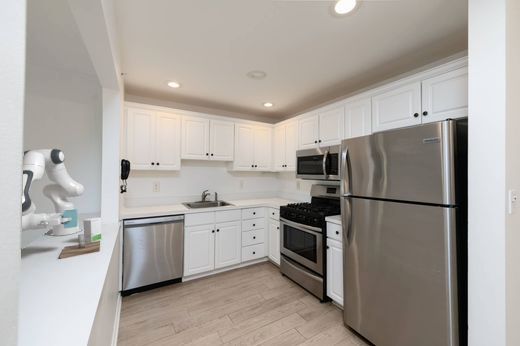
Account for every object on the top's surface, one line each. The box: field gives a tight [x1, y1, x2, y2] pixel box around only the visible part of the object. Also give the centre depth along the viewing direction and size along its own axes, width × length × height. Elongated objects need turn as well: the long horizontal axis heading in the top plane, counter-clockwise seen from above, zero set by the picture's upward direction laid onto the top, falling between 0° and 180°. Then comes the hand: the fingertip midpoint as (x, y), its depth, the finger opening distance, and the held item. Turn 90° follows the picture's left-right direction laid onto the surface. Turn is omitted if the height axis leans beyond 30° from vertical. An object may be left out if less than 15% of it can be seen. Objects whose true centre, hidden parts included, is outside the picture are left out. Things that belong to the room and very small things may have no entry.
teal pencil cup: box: [63, 208, 79, 228], centre depth 137 cm, size 6×6×10 cm
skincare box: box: [83, 217, 103, 243], centre depth 154 cm, size 8×7×16 cm
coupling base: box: [59, 233, 101, 260], centre depth 138 cm, size 18×18×10 cm
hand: (72, 217), depth 138 cm, fingers closed on teal pencil cup, 6 cm apart
